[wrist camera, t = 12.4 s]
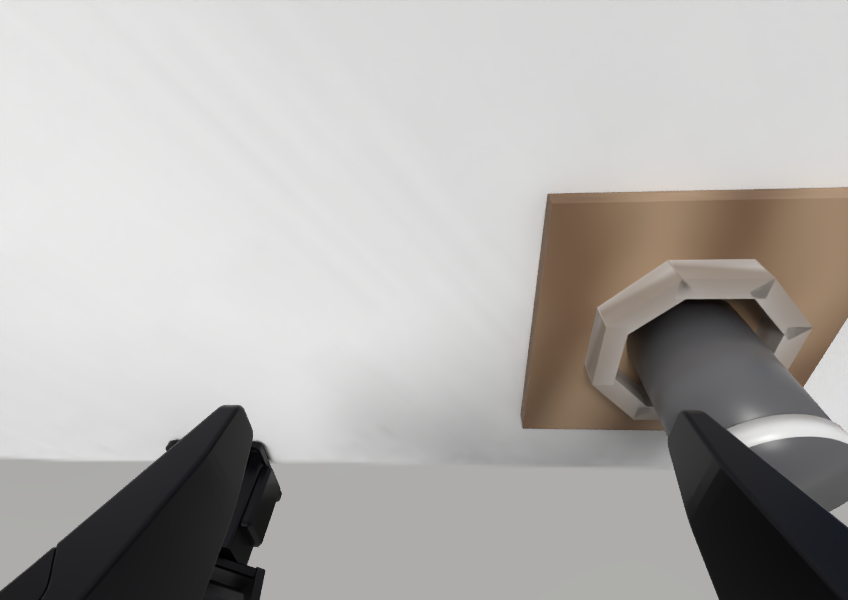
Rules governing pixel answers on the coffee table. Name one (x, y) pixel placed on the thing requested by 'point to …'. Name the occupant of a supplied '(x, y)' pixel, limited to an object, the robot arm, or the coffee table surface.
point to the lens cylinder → (740, 393)
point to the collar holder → (675, 288)
